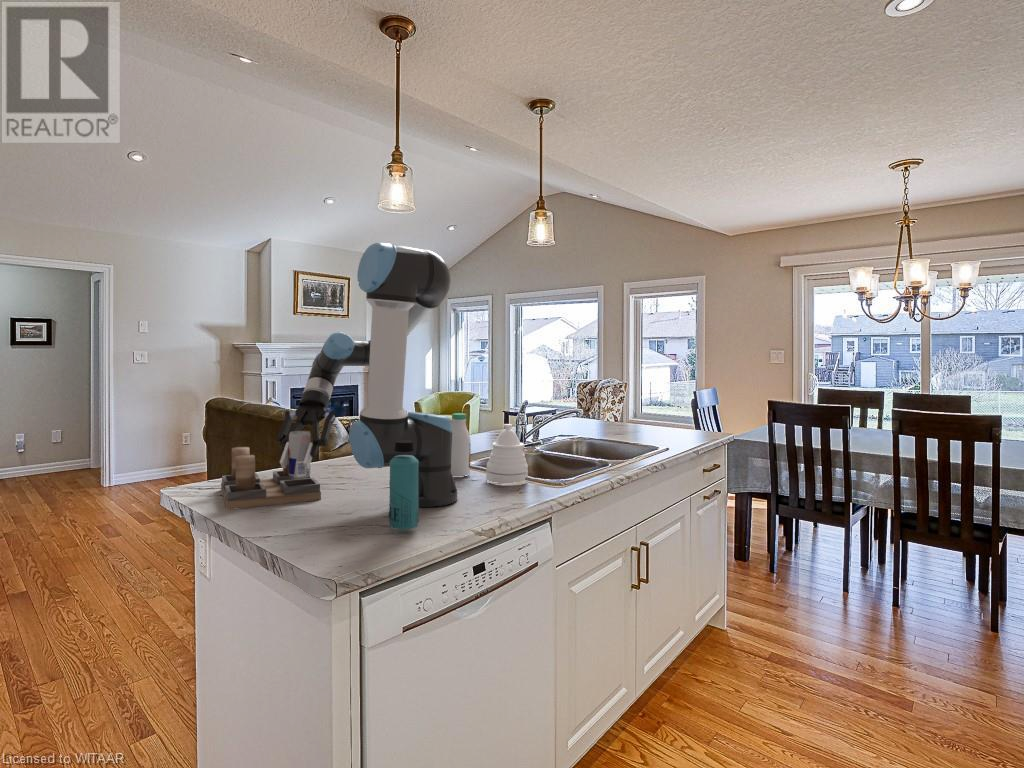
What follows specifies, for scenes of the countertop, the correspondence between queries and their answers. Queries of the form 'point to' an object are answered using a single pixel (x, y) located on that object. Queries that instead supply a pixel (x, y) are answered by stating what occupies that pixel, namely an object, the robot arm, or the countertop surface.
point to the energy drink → (298, 454)
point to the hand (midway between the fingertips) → (294, 465)
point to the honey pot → (507, 458)
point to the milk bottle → (460, 446)
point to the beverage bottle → (404, 488)
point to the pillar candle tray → (263, 485)
